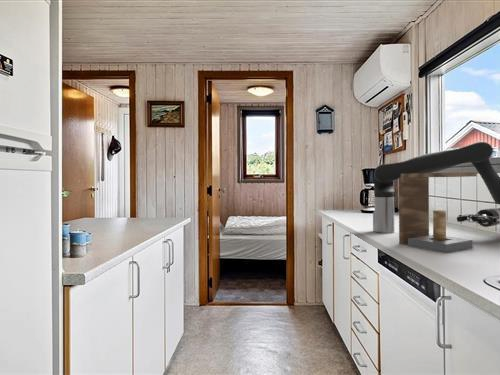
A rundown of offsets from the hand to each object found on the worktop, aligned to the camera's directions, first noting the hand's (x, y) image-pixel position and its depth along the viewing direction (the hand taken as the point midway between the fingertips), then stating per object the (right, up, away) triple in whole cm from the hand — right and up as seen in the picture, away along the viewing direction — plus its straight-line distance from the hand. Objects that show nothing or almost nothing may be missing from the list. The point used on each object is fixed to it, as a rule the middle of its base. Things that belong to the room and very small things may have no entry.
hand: (468, 220), depth 154 cm
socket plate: (-16, -10, -9) cm, 20 cm away
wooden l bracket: (-16, -10, -6) cm, 20 cm away
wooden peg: (-16, -10, -8) cm, 20 cm away
